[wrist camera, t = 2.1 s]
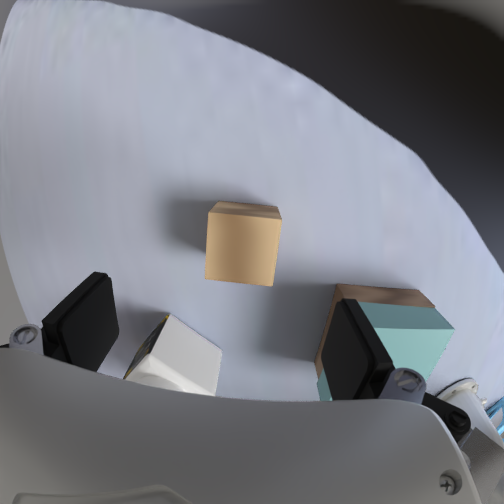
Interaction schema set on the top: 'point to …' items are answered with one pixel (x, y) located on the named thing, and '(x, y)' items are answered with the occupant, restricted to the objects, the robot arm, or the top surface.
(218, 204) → the oak block
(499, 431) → the chair
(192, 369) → the medicine bottle
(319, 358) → the walnut slab
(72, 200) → the top surface
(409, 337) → the teal slab
